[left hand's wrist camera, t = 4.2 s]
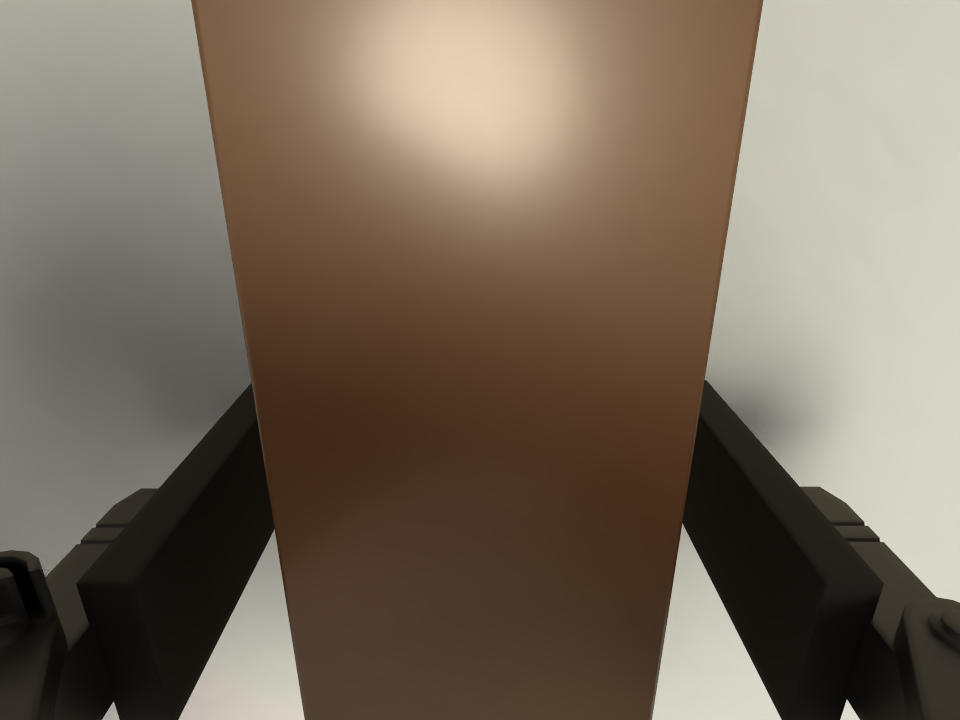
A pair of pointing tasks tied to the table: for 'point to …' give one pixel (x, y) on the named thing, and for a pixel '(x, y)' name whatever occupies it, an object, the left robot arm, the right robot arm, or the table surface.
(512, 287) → the beam
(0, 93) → the table surface
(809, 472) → the table surface
